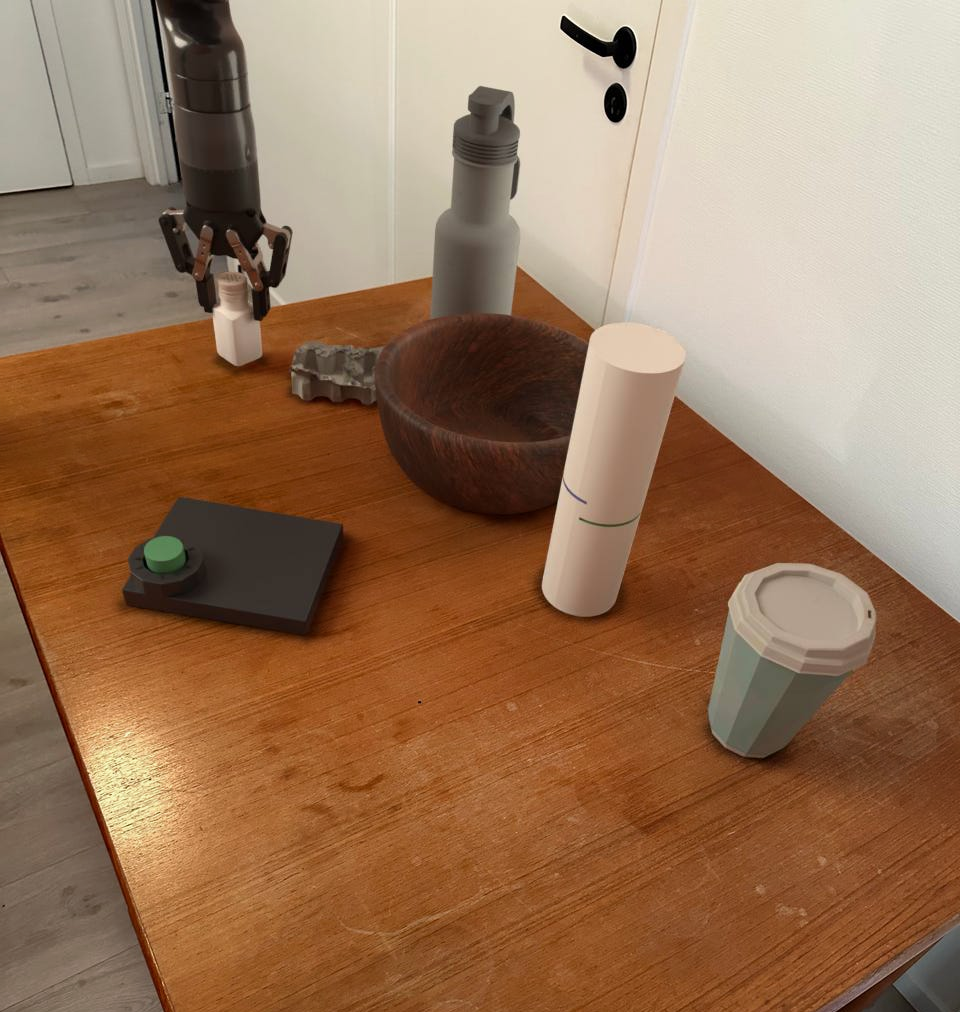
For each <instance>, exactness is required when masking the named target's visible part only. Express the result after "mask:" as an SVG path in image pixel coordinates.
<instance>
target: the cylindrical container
mask: <svg viewBox="0 0 960 1012" xmlns="http://www.w3.org/2000/svg"><path fill="white" fill-rule="evenodd" d="M588 343H589V346H588V351H587V357H586V362H585V367H584V372H583V377H582V382H581V387H580V392H579V397H578V402H577V407H576V413H575V418H574V423H573V428H572V433H571V438H570V443H569V448H568V453H567V458H566V463H565V468H564V474H563V478H562V484H561V489H560V494H559V499H558V502H557V505H556V510H555V515H554V520H553V524H552V530H551V534H550V539H549V544H548V550H547V555H546V560H545V565H544V571H543V576H542V581H541V589H542V593H543V595H544V597H545V599H546V600H547V602H548V603H550V604H551V605H552V606H553V607H554V608H556V609H557V610H559V611H561V612H563V613H565V614H567V615H571V616H575V617H580V618H581V617H583V618H584V617H585V618H586V617H587V618H588V617H589V618H590V617H595V616H596V617H597V616H599V615H602V614H604V613H607V612H608V611H610V610H611V608H613V606H614V605H615V604H616V601H617V598H618V594H619V592H620V588H621V585H622V581H623V578H624V574H625V570H626V567H627V563H628V560H629V558H630V557H629V556H630V553H631V550H632V546H633V543H634V540H635V536H636V533H637V529H638V526H639V522H640V519H641V516H642V511H643V508H644V504H645V502H646V497H647V495H648V491H649V488H650V483H651V480H652V477H653V473H654V470H655V467H656V463H657V459H658V455H659V454H660V453H659V452H660V448H661V445H662V442H663V440H664V435H665V431H666V427H667V425H668V421H669V417H670V414H671V410H672V407H673V404H674V399H675V396H676V393H677V390H678V386H679V383H680V379H681V375H682V371H683V368H684V365H685V361H686V358H687V352H686V348H685V346H684V345H683V344H682V342H680V340H678V339H677V338H676V337H675V336H673V335H672V334H671V333H669V332H667V331H665V330H663V329H662V328H661V329H660V328H658V327H655V326H652V325H649V324H648V325H647V324H645V323H644V324H643V323H638V322H628V321H627V322H625V321H624V322H623V321H621V322H612V323H608V324H604V325H602V326H600V327H598V328H596V329H595V330H594V331H593V332H591V335H590V337H589V341H588Z"/></svg>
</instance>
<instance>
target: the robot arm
mask: <svg viewBox="0 0 960 1012" xmlns="http://www.w3.org/2000/svg"><path fill="white" fill-rule="evenodd" d="M155 3H156V7H157V10H158V13H159V18H160V21H161V25H162V28H163V31H164V35H165V40H166V41H165V42H166V46H167V57H168V59H167V60H168V68H169V74H170V83H171V89H172V97H173V108H174V109H173V110H174V132H175V146H176V149H177V153H178V154H177V155H178V161H179V167H180V174H181V175H180V176H181V182H182V188H183V196H184V199H185V207H184V209H177V208H176V207H173V206H170V207H168V208H167V209H166V210H165V211H163V212H162V214H161V215H160V216H159V217H158V224H159V227H160V229H161V232H162V235H163V238H164V240H165V243H166V245H167V248H168V251H169V253H170V256H171V259H172V262H173V265H174V267H175V270H176V271H177V272H179V273H181V274H184V273H186V274H189V276H192V277H193V279H194V281H195V287H196V295H197V302H198V304H199V306H200V307H202V308H203V311H204V313H206V314H212V307H213V306H214V304H216V303H218V300H217V293H216V284H215V275H214V273H211V269H212V265H213V262H214V258H215V256H216V257H222V256H226V257H229V258H230V259H234V260H237V261H238V263H239V265H240V268H241V269H242V271H243V272H244V273H246V275H247V278H248V280H249V283H250V284H251V286H252V288H251V291H250V292H251V300H252V302H251V303H252V304H253V313H254V320H256V321H260V322H262V321H263V320H264V318H266V317H267V316H268V314H269V312H270V310H271V293H270V288H273V289H276V288H279V286H280V285H281V283H282V282H283V280H284V278H285V276H286V273H287V267H288V262H289V257H290V252H291V251H290V250H291V245H292V239H293V233H294V232H293V229H292V227H290V226H289V225H283V226H281V227H278V226H276V225H274V224H271V223H269V222H267V219H266V217H265V216H264V214H263V211H262V203H261V202H262V201H261V189H260V188H261V187H260V173H259V163H258V149H257V148H258V147H257V139H256V127H255V122H254V121H255V120H254V117H253V111H252V106H251V98H250V88H249V87H250V86H249V85H250V83H249V72H248V61H247V53H246V49H245V45H244V42H243V40H242V38H241V36H240V34H239V32H238V30H237V28H236V26H235V24H234V21H233V17H232V14H231V13H232V12H231V6H230V0H155ZM187 227H188V228H189V229H190V230H191V232H192V233H193V234H194V236H195V237H196V239H198V244H197V245H198V246H197V248H196V253H195V257H194V253H193V250H192V248H191V245H190V242H189V239H188V236H187V234H186V231H185V230H186V229H187ZM262 236H264V237H265V238H266V239H267V245H268V248H269V249H270V250H272V253H271V260H270V265H269V269H268V268H267V266H266V264H265V262H264V254H263V251H262V249H261V247H260V245H259V240H260V239H261V237H262Z"/></svg>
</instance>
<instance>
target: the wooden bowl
mask: <svg viewBox="0 0 960 1012" xmlns="http://www.w3.org/2000/svg"><path fill="white" fill-rule="evenodd" d="M588 346H589V341H587V340H585V339H583V338H582V337H580V336H578V335H576V334H574V333H572V332H570V331H568V330H566V329H564V328H561V327H559V326H555V325H553V324H551V323H547V322H543V321H540V320H537V319H534V318H529V317H523V316H519V315H514V314H513V315H512V314H511V315H505V314H494V313H466V314H455V315H449V316H443V317H438V318H434V319H431V320H430V319H428V320H424V321H421V322H418V323H416V324H414V325H412V326H410V327H408V328H406V329H404V330H402V331H401V332H398V333H397V334H396V335H395V336H393V337H392V338H391V339H390V340H389V341H388V342H387V343H386V344H385V345H384V348H383V349H382V351H381V353H380V354H379V357H378V360H377V363H376V367H375V375H374V379H375V390H376V397H377V400H376V402H377V409H378V414H379V415H378V416H379V421H380V424H381V428H382V432H383V436H384V439H385V442H386V444H387V446H388V449H389V451H390V454H391V455H392V457H393V458H394V460H395V462H396V464H397V465H398V467H399V468H400V469H401V471H402V472H403V473H404V474H405V476H406V477H407V478H408V480H410V481H411V482H412V483H413V484H414V485H415V486H416V487H417V488H418V489H420V490H421V491H423V492H425V493H426V494H428V495H429V496H431V497H432V498H434V499H436V500H438V501H440V502H442V503H445V504H447V505H449V506H452V507H455V508H457V509H461V510H465V511H468V512H473V513H480V514H487V515H516V514H517V515H518V514H523V513H529V512H534V511H537V510H541V509H544V508H548V507H550V506H552V505H555V504H556V503H557V504H558V499H559V494H560V489H561V484H562V478H563V474H564V468H565V463H566V458H567V453H568V448H569V443H570V438H571V433H572V428H573V423H574V418H575V413H576V407H577V402H578V397H579V392H580V387H581V382H582V377H583V372H584V367H585V362H586V357H587V351H588Z"/></svg>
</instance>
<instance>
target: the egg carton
mask: <svg viewBox="0 0 960 1012" xmlns="http://www.w3.org/2000/svg"><path fill="white" fill-rule="evenodd" d="M384 347H385V345H382V346H379V347H368V348H363V347H361V346H359V347H358V348H356V347H354V345H353V344H348V345H340V344H332V345H330V344H326V343H323V342H320V341H319V342H318V341H315V340H314V341H311V340H310V341H307V342H305V343H302V344H301V345H299V346H298V347H296V348H295V350H294V355H293V358H292V361H291V364H290V366H289V373H290V377H291V389H292V394H293V395H297V396H298V397H300V398H301V400H303V401H312V400H313V399H315V398H316V397H326V398H328V399H329V400H331V401H332V403H343V402H344V401H345V400H347V399H355V400H356V399H357V400H358V401H360V402H361V404H362V405H366V406H367V405H368V406H370V405H372V404H373V403H374V402H377V397H376V390H375V379H374V375H375V367H376V363H377V360H378V357H379V354H380V353H381V351H382V349H383V348H384Z"/></svg>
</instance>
